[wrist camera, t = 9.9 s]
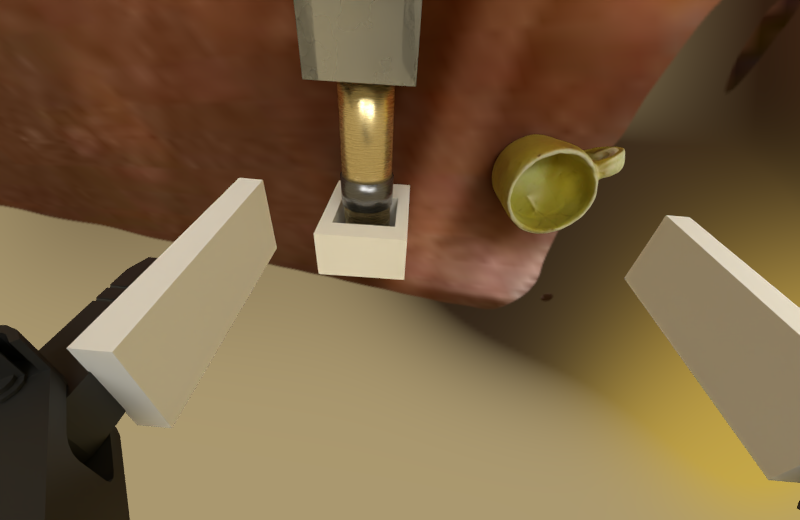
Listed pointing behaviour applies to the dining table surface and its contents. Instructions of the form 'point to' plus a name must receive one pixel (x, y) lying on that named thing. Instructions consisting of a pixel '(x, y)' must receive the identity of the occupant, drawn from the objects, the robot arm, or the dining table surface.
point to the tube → (366, 151)
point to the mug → (550, 180)
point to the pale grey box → (359, 40)
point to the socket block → (363, 240)
